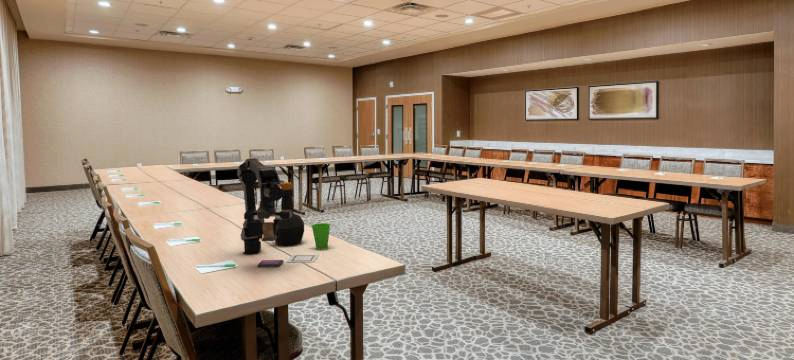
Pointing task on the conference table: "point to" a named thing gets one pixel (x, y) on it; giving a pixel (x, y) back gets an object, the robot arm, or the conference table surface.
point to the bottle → (289, 221)
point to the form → (302, 258)
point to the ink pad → (270, 263)
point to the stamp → (268, 232)
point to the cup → (321, 234)
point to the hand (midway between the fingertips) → (269, 234)
